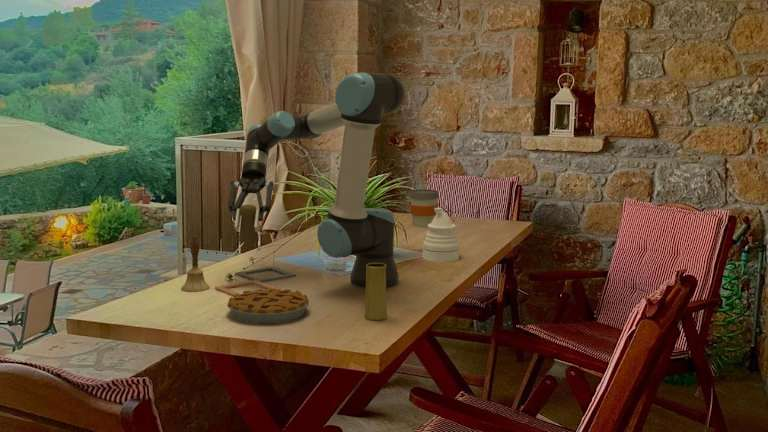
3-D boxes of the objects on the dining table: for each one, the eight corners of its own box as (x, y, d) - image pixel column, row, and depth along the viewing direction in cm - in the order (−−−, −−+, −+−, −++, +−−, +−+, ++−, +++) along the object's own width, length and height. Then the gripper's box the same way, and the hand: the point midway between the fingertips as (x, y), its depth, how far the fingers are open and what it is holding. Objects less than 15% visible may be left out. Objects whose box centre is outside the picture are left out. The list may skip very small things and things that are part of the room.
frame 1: (280, 291, 239) (280, 289, 239) (239, 298, 230) (239, 296, 230) (255, 281, 250) (255, 279, 249) (214, 289, 240) (214, 287, 240)
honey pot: (440, 263, 278) (442, 212, 275) (415, 257, 287) (416, 207, 284) (466, 258, 286) (467, 208, 283) (440, 252, 295) (441, 203, 292)
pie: (240, 301, 229) (240, 284, 228) (316, 304, 226) (316, 287, 226) (216, 324, 207) (216, 305, 206) (300, 327, 205) (300, 308, 204)
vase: (363, 314, 217) (363, 262, 214) (386, 313, 217) (386, 262, 215) (364, 320, 211) (365, 267, 208) (388, 320, 211) (388, 267, 209)
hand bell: (214, 286, 244) (213, 234, 241) (200, 293, 236) (198, 239, 233) (191, 283, 246) (189, 232, 244) (175, 290, 239) (173, 237, 236)
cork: (254, 243, 240) (253, 206, 238) (235, 242, 242) (234, 206, 240) (262, 239, 246) (261, 203, 244) (243, 238, 248) (242, 202, 246)
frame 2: (296, 276, 257) (296, 274, 257) (258, 283, 248) (258, 281, 248) (272, 268, 268) (272, 266, 267) (235, 274, 258) (235, 272, 258)
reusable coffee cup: (442, 224, 352) (442, 190, 350) (431, 229, 341) (432, 194, 338) (415, 222, 357) (416, 188, 355) (404, 226, 346) (405, 192, 343)
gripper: (284, 175, 256) (278, 236, 242) (227, 174, 256) (218, 235, 243) (282, 160, 250) (275, 222, 236) (223, 160, 250) (213, 221, 237)
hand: (246, 229), depth 240 cm, fingers closed on cork, 5 cm apart
